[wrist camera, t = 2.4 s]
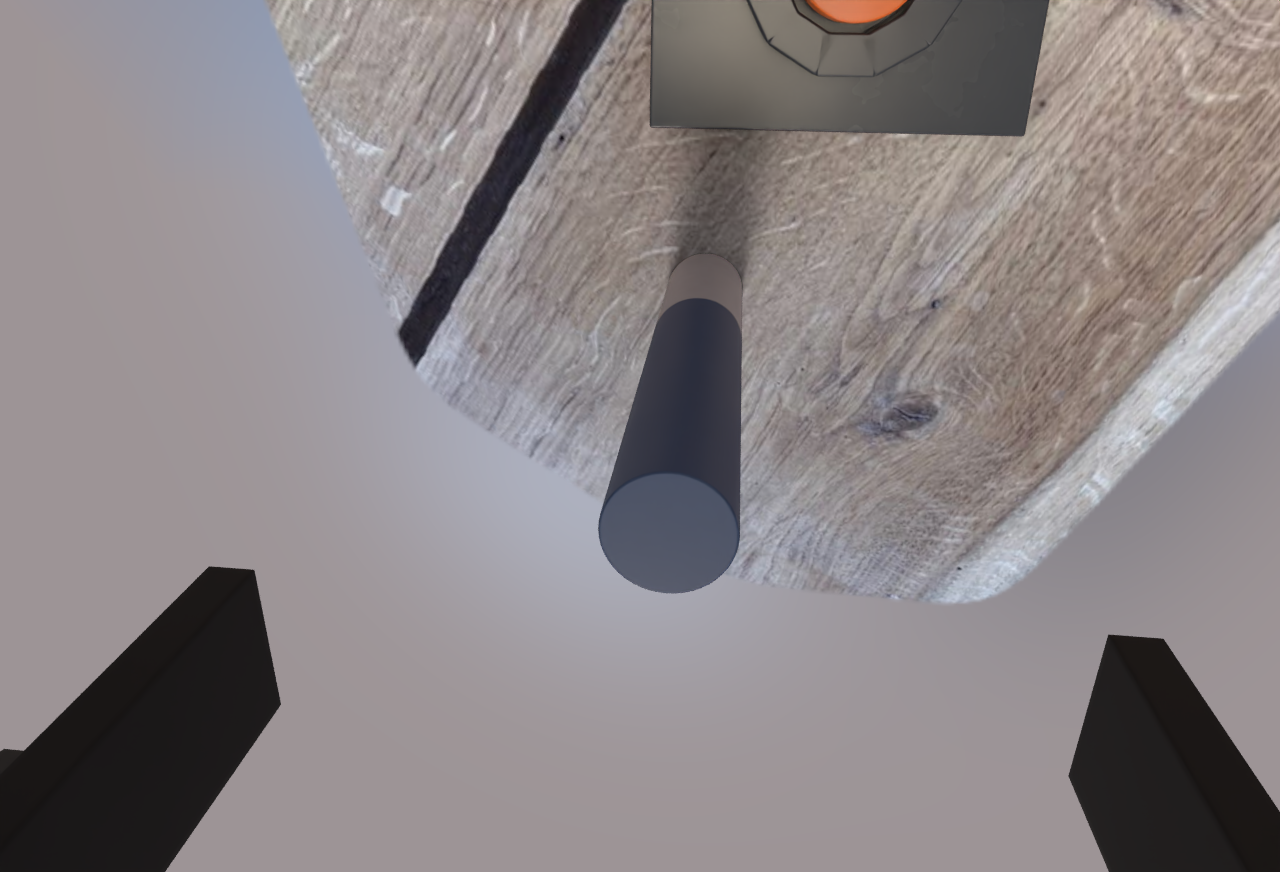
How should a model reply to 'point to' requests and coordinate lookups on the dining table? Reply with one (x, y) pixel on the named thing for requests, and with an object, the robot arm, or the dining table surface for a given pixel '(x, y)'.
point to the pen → (682, 440)
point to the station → (845, 67)
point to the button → (855, 9)
